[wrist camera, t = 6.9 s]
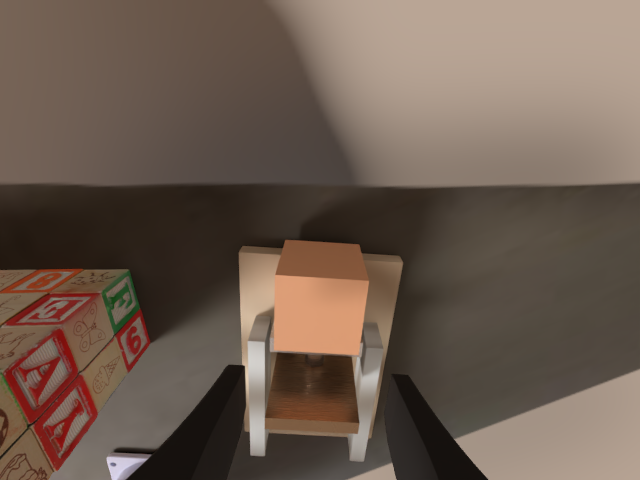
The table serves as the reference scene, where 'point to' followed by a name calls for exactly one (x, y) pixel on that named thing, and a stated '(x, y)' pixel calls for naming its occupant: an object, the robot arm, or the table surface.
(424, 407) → the robot arm
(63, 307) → the stack of blocks
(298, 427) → the sliding carriage
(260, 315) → the channel deck
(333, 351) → the terracotta block
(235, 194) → the table surface
